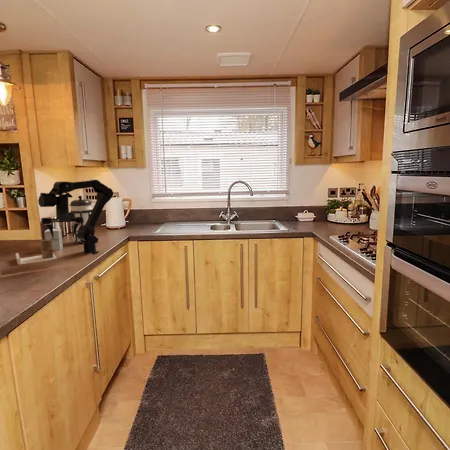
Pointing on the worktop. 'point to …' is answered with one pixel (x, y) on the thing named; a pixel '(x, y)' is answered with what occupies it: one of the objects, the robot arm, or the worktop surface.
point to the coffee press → (80, 212)
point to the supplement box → (55, 239)
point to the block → (46, 248)
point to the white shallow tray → (32, 259)
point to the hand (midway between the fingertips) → (63, 237)
